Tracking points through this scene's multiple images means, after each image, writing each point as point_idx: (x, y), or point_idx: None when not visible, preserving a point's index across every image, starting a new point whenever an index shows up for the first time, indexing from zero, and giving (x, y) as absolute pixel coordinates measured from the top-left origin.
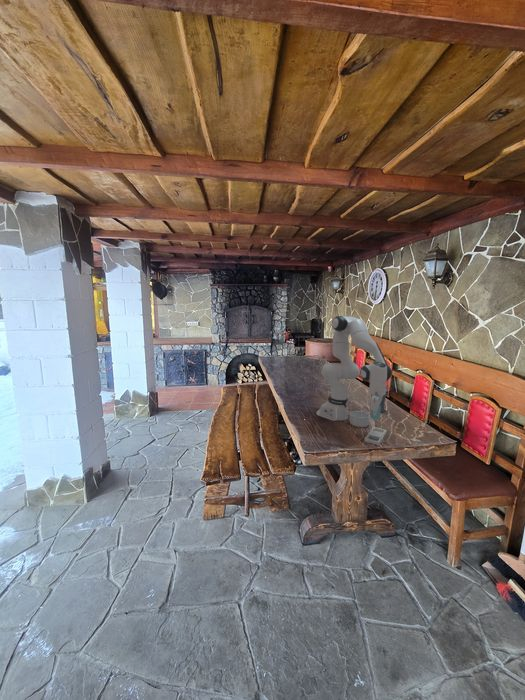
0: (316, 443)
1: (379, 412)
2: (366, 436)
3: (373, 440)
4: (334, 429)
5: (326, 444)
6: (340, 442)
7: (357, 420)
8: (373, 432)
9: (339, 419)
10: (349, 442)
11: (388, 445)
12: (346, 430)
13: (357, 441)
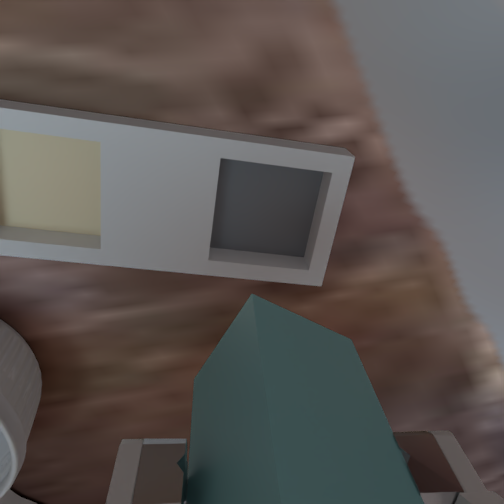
0: None
1: (303, 418)
2: (268, 278)
3: (329, 211)
4: None
5: None
6: (398, 402)
7: (24, 421)
8: (130, 233)
9: (6, 496)
10: (375, 357)
11: (295, 52)
12: (168, 413)
13: (333, 315)
